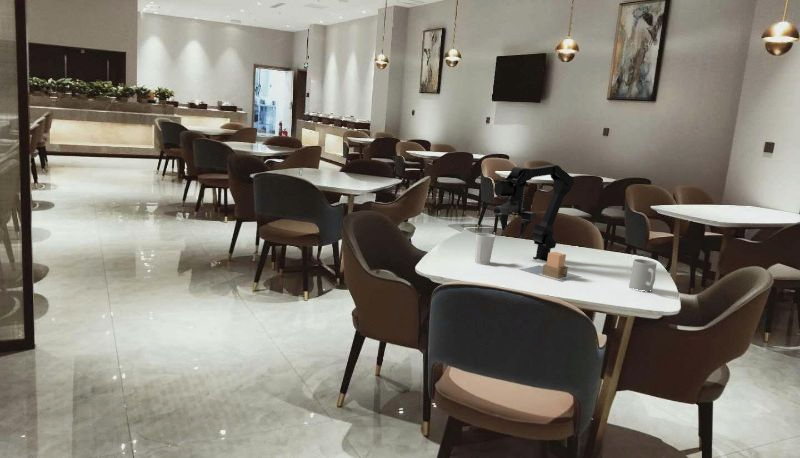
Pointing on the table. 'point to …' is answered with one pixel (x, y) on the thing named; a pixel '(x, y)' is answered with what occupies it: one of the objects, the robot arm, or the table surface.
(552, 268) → the base block
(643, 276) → the mug
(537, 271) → the plate
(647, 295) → the table surface
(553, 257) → the top block
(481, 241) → the cup
